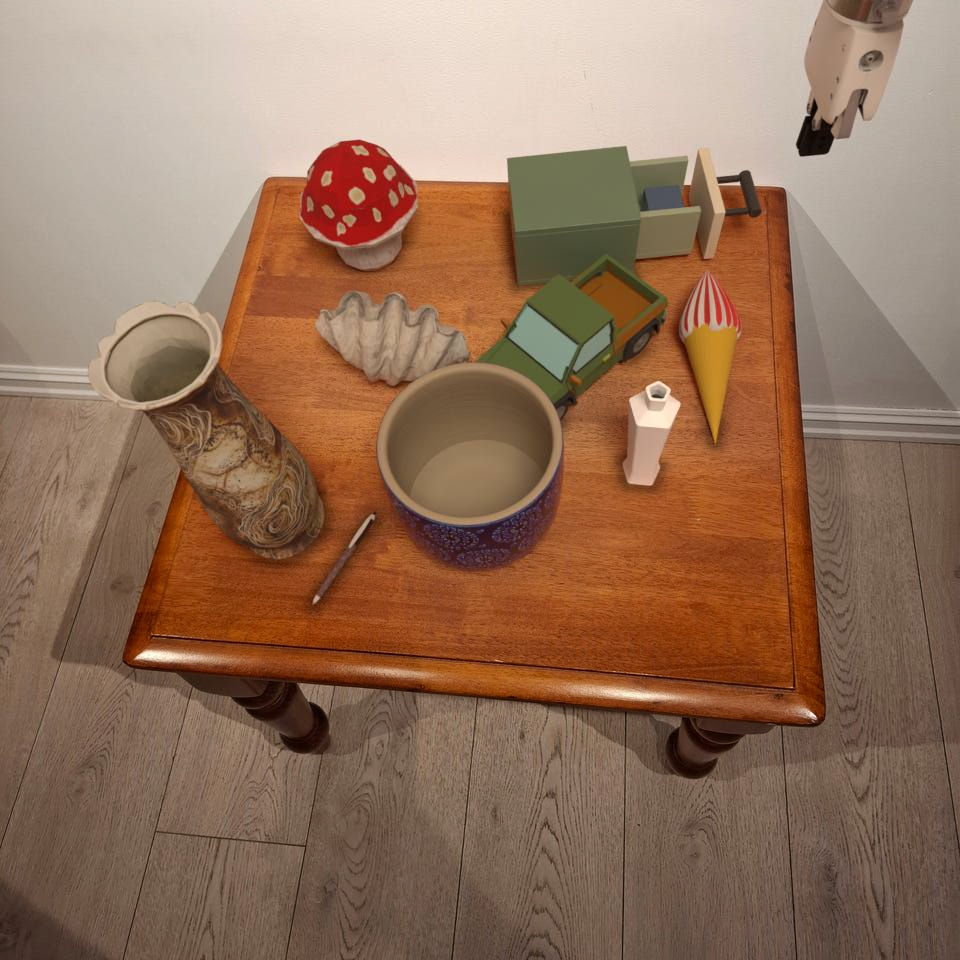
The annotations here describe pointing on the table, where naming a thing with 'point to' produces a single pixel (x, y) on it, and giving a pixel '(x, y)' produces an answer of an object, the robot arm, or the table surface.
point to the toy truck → (579, 330)
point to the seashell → (391, 337)
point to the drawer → (679, 225)
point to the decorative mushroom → (358, 203)
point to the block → (662, 198)
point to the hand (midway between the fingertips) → (811, 150)
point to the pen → (344, 557)
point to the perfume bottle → (648, 432)
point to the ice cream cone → (710, 343)
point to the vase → (210, 427)
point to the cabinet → (571, 212)
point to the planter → (473, 464)
